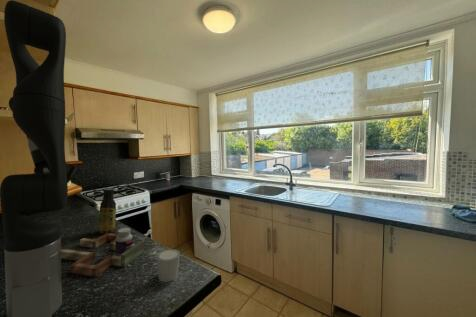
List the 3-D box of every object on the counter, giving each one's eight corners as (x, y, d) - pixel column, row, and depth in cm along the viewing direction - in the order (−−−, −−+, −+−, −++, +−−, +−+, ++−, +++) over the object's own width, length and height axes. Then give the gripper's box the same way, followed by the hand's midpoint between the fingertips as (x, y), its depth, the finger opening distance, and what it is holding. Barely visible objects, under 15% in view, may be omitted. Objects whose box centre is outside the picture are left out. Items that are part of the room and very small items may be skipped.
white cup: (171, 266, 68) (172, 246, 67) (184, 275, 63) (184, 254, 63) (152, 276, 62) (152, 254, 62) (164, 286, 58) (164, 263, 57)
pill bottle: (128, 260, 70) (128, 233, 70) (112, 260, 70) (112, 233, 69) (135, 252, 76) (135, 226, 75) (120, 252, 75) (120, 226, 75)
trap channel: (38, 268, 64) (37, 256, 64) (96, 237, 86) (95, 228, 86) (110, 278, 60) (110, 266, 60) (152, 243, 82) (152, 234, 82)
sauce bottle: (96, 235, 88) (96, 190, 87) (102, 229, 94) (101, 187, 93) (113, 234, 90) (113, 190, 88) (117, 228, 96) (117, 187, 94)
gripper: (14, 151, 62) (30, 204, 61) (68, 142, 70) (83, 189, 69) (22, 158, 68) (37, 206, 67) (71, 149, 76) (85, 192, 75)
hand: (60, 197), depth 68 cm, fingers closed
